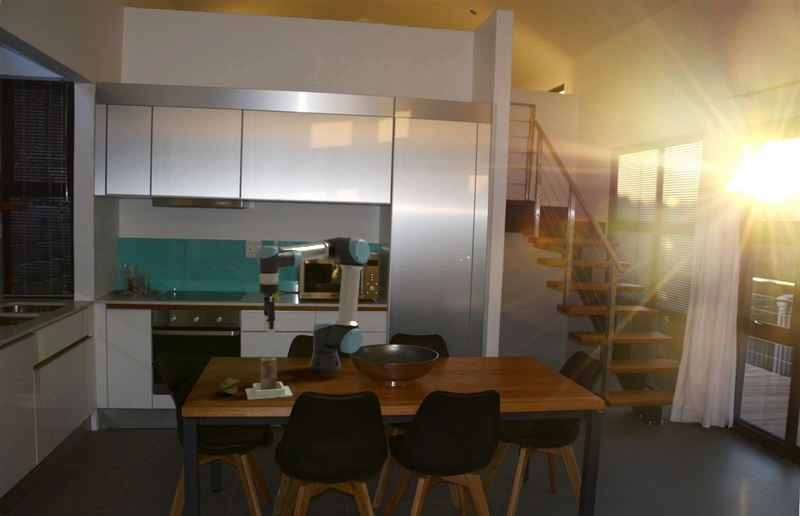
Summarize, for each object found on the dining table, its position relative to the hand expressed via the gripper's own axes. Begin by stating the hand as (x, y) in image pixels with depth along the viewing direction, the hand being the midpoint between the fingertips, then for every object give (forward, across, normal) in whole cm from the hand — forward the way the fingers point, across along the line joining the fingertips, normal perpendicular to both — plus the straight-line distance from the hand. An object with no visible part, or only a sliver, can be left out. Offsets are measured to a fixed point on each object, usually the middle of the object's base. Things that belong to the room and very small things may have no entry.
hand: (269, 333), depth 257 cm
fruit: (+25, -4, -16) cm, 31 cm away
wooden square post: (+25, 0, 0) cm, 25 cm away
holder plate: (+25, 0, 0) cm, 25 cm away
